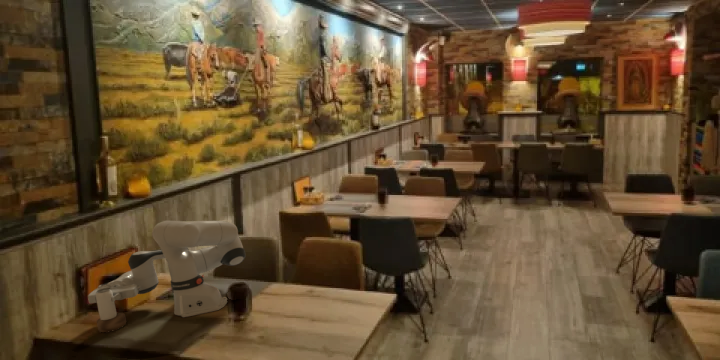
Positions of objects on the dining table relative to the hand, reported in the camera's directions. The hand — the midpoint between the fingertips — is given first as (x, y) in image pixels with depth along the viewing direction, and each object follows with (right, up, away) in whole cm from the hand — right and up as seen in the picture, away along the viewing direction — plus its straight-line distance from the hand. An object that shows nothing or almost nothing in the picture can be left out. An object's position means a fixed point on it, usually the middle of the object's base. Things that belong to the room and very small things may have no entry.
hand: (105, 300), depth 236 cm
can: (0, -8, +2) cm, 8 cm away
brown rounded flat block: (+2, -12, +3) cm, 12 cm away
